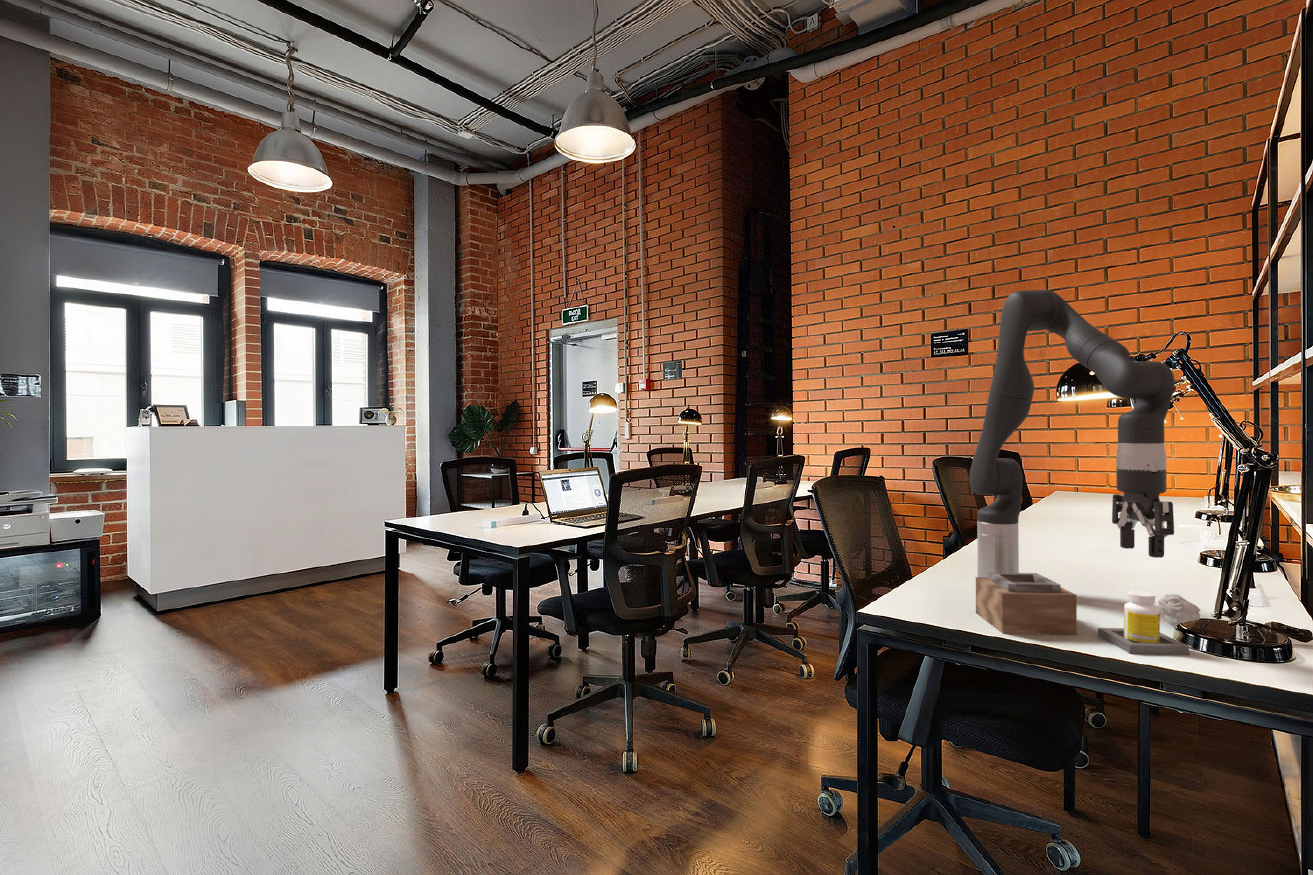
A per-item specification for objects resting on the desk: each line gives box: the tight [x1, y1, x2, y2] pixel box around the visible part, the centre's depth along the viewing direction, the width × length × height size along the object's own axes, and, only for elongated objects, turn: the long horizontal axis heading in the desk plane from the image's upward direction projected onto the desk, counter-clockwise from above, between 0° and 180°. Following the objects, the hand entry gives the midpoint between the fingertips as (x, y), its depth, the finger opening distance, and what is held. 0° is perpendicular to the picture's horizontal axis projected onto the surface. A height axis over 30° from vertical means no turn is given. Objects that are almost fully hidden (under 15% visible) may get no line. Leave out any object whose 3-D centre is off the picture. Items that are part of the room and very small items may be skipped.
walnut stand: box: [975, 572, 1078, 636], centre depth 134 cm, size 14×14×10 cm
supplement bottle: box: [1123, 590, 1161, 643], centre depth 120 cm, size 5×5×10 cm
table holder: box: [1097, 627, 1190, 656], centre depth 120 cm, size 10×10×2 cm
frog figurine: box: [1157, 593, 1201, 629], centre depth 129 cm, size 6×7×7 cm
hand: (1141, 552), depth 120 cm, fingers open, 8 cm apart
